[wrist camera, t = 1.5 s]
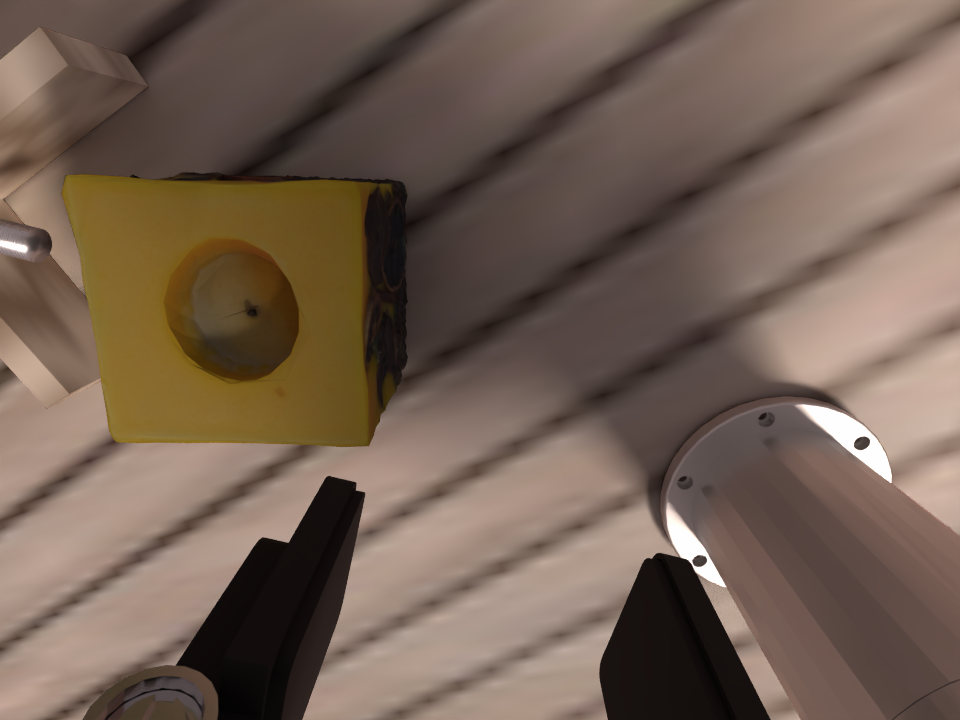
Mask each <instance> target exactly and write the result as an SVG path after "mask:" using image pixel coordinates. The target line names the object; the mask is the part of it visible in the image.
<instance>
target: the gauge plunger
mask: <svg viewBox="0 0 960 720" xmlns="http://www.w3.org/2000/svg"><path fill="white" fill-rule="evenodd" d="M51 248H52V240H51V237H50V235H49V233H48V232H47V231H45V230H44V229H40V228H36V227H32V226H28V225H24V224H20V223H16V222H12V221H8V220H4V219H0V254H2V255H6V256H11V257H15V258H19V259H23V260H27V261H31V262H35V263H38V262H42V261H44V260H45V259H46V258H47V257H48V256H49V254H50V252H51Z"/></svg>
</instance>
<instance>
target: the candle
mask: <svg viewBox="0 0 960 720" xmlns="http://www.w3.org/2000/svg"><path fill="white" fill-rule="evenodd" d="M62 197H63V200H64V203H65V207H66V210H67V213H68V216H69V220H70V223H71V226H72V230H73V233H74V237H75V240H76V243H77V247H78V250H79V253H80V258H81V267H82V276H83V284H84V288H85V292H86V297H87V301H88V305H89V310H90V316H91V321H92V326H93V332H94V337H95V342H96V348H97V355H98V363H99V370H100V377H101V384H102V389H103V395H104V400H105V406H106V412H107V419H108V427H109V432H110V434H111V436H112V438H113V439H114V440H115V441H116V442H127V443H159V442H161V443H266V444H299V445H321V446H336V447H355V446H369V445H370V442H371V440H372V438H373V436H374V432H375V428H376V426H377V425H378V423H379V422H380V415H381V413H383V412H384V411H385V409H386V406H387V403H388V402H389V400H390V398H391V397H392V395H393V394H394V393H395V391H396V389H397V386H398V385H399V383H400V382H401V378H402V373H401V371H402V370H403V369H404V368H405V366H406V363H407V358H408V356H407V354H406V352H405V351H406V344H405V339H406V335H407V331H406V327H405V323H406V319H405V315H406V308H405V305H406V304H407V302H408V301H407V294H406V287H407V286H406V279H405V266H406V256H407V255H406V243H407V240H406V236H405V232H404V225H405V216H406V215H405V203H406V199H407V193H406V189H405V186H404V184H403V183H402V182H400V181H394V180H390V179H385V180H378V179H377V180H376V179H375V180H371V179H349V178H344V179H342V178H341V179H336V178H333V177H332V178H320V177H317V176H316V177H300V176H292V177H291V176H288V175H287V176H286V177H281V176H231V175H223V174H220V173H218V172H216V173H206V174H199V173H180V174H178V175H176V176H174V177H169V178H163V179H156V180H149V179H141V178H139V177H137V176H135V175H132V176H130V177H121V176H105V175H89V174H80V175H66V176H65V180H64V184H63V189H62Z"/></svg>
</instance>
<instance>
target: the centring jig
mask: <svg viewBox="0 0 960 720" xmlns="http://www.w3.org/2000/svg"><path fill="white" fill-rule="evenodd" d="M147 87H148V85H147V84H146V82H145V81H144V79H143V78H142V76H141V75H140V74H139V72H138V71H137V69H136V68H135V67H134V65H133V64H132V62H131V61H130V60H129V58H128V57H127V56H126V55H123V54H120V53H117V52H114V51H111V50H108V49H105V48H102V47H99V46H96V45H93V44H90V43H87V42H84V41H81V40H78V39H75V38H72V37H69V36H66V35H63V34H60V33H57V32H54V31H51V30H48V29H45V28H42V27H38V28H37V29H36V30H35V31H34V32H33V33H31V34H30V35H29V36H28V37H27V38H26V39H24V40H23V41H22V42H21V43H20V44H19V45H17V46H16V47H15V48H14V49H13V50H11V51H10V52H9V53H8V54H7V55H6V56H4V57H3V58H2V59H1V60H0V219H4V220H8V221H12V222H16V223H20V224H23V223H22V221H21V220H20V219H19V218H18V217H17V215H16V214H15V213H14V212H13V211H12V209H11V208H10V207H9V206H8V205H7V203H6V202H5V201H4V200H3V199H4V198H5V197H7V196H8V195H9V194H10V193H12V192H13V191H14V190H16V189H17V188H18V187H19V186H21V185H22V184H23V183H25V182H26V181H27V180H28V179H30V178H31V177H32V176H34V175H35V174H36V173H37V172H39V171H40V170H41V169H43V168H44V167H45V166H46V165H48V164H49V163H50V162H52V161H53V160H54V159H55V158H57V157H58V156H59V155H61V154H62V153H63V152H64V151H66V150H67V149H68V148H70V147H71V146H72V145H73V144H75V143H76V142H77V141H79V140H80V139H81V138H82V137H84V136H85V135H86V134H88V133H89V132H90V131H91V130H93V129H94V128H95V127H97V126H98V125H99V124H100V123H102V122H103V121H104V120H106V119H107V118H108V117H109V116H111V115H112V114H113V113H115V112H116V111H117V110H118V109H120V108H121V107H122V106H124V105H125V104H126V103H127V102H129V101H130V100H131V99H133V98H134V97H135V96H136V95H138V94H139V93H140V92H142V91H143V90H144V89H145V88H147ZM0 358H1V359H2V360H3V361H4V363H5V364H6V365H7V366H8V367H9V368H10V369H11V370H12V371H13V372H14V373H15V375H16V376H17V377H18V378H19V379H20V380H21V381H22V382H23V383H24V384H25V385H26V387H27V388H28V389H29V390H30V391H31V392H32V393H33V394H34V395H35V396H36V397H37V399H38V400H39V401H40V402H41V403H42V404H43V405H44V406H45V407H46V408H49V407H51V406H53V405H55V404H57V403H59V402H61V401H63V400H65V399H67V398H69V397H71V396H73V395H75V394H76V393H78V392H80V391H82V390H84V389H86V388H88V387H90V386H92V385H94V384H96V383H98V382H100V381H101V377H100V370H99V363H98V355H97V348H96V342H95V337H94V332H93V326H92V321H91V316H90V310H89V305H88V301H87V299H86V298H85V297H84V295H83V294H82V293H81V292H80V291H79V289H78V288H77V287H76V286H75V285H74V284H73V282H72V281H71V280H70V279H69V278H68V276H67V275H66V274H65V273H64V272H63V270H62V269H61V268H60V267H59V266H58V264H57V263H56V262H55V261H54V260H53V258H52V257H51V256H50V255H49V256H48V257H47V258H46V259H45V260H44V261H42V262H38V263H35V262H31V261H27V260H23V259H19V258H15V257H11V256H6V255H2V254H0Z"/></svg>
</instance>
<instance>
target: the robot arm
mask: <svg viewBox="0 0 960 720" xmlns="http://www.w3.org/2000/svg"><path fill="white" fill-rule="evenodd" d="M364 498H365V492H360V491H356V482H352V481H348V480H344V479H339V478H335V477H331V476H327V477H326V479H325V480H324V482H323V484H322V485H321V487H320V489H319V491H318V492H317V494H316V496H315V498H314V499H313V501H312V503H311V505H310V506H309V508H308V510H307V512H306V513H305V515H304V517H303V519H302V520H301V522H300V524H299V526H298V527H297V529H296V531H295V533H294V534H293V536H292V538H291V540H290V541H289V543H286V542H282V541H277V540H273V539H269V538H264V537H263V538H261V539H260V540H259V541H258V542H257V543H256V545H255V546H254V547H253V549H252V550H251V552H250V553H249V555H248V556H247V558H246V559H245V561H244V563H243V564H242V566H241V567H240V569H239V570H238V572H237V573H236V575H235V576H234V578H233V579H232V581H231V582H230V584H229V585H228V587H227V588H226V590H225V591H224V593H223V594H222V596H221V597H220V599H219V600H218V602H217V603H216V605H215V607H214V608H213V610H212V611H211V613H210V614H209V616H208V617H207V619H206V620H205V622H204V623H203V625H202V626H201V628H200V629H199V631H198V632H197V634H196V635H195V637H194V638H193V640H192V641H191V643H190V644H189V646H188V647H187V649H186V651H185V652H184V654H183V655H182V657H181V658H180V660H179V661H178V663H177V664H176V666H172V665H164V666H159V667H153V668H148V669H144V670H142V671H139V672H137V673H134V674H132V675H130V676H127V677H125V678H123V679H122V680H120V681H119V682H117V683H116V684H114V685H113V686H111V687H110V688H109V689H107V690H106V691H105V692H104V693H103V694H102V695H101V696H100V697H99V698H98V699H97V700H96V701H95V702H94V703H93V704H92V705H91V706H90V707H89V709H88V711H87V713H86V714H85V716H84V718H83V720H302V719H303V716H304V713H305V710H306V708H307V705H308V702H309V699H310V696H311V694H312V691H313V688H314V685H315V682H316V680H317V677H318V674H319V671H320V669H321V666H322V663H323V660H324V657H325V655H326V652H327V649H328V646H329V643H330V641H331V638H332V635H333V632H334V630H335V627H336V624H337V621H338V618H339V615H340V611H341V607H342V603H343V599H344V594H345V589H346V585H347V580H348V575H349V570H350V565H351V561H352V556H353V551H354V546H355V542H356V537H357V532H358V527H359V522H360V518H361V513H362V508H363V503H364ZM660 512H661V517H662V522H663V527H664V529H665V531H666V534H667V536H668V538H669V541H670V543H671V545H672V546H673V548H674V550H675V551H676V553H677V554H678V556H679V557H675V556H671V555H667V554H662V553H657V554H656V555H655V556H654V557H653V558H652V559H650V558H647V559H645V560H644V562H643V564H642V566H641V568H640V571H639V573H638V575H637V578H636V580H635V582H634V585H633V587H632V589H631V591H630V594H629V596H628V598H627V601H626V603H625V605H624V608H623V610H622V612H621V615H620V617H619V619H618V622H617V624H616V626H615V629H614V631H613V633H612V636H611V638H610V640H609V643H608V645H607V647H606V650H605V652H604V654H603V657H602V659H601V663H600V671H599V675H600V683H601V688H602V693H603V698H604V703H605V708H606V712H607V717H608V720H770V718H769V716H768V714H767V712H766V710H765V708H764V706H763V704H762V702H761V700H760V698H759V696H758V694H757V692H756V690H755V688H754V686H753V684H752V682H751V680H750V678H749V676H748V674H747V672H746V670H745V668H744V667H743V665H742V663H741V661H740V659H739V657H738V655H737V653H736V651H735V649H734V647H733V645H732V643H731V641H730V639H729V637H728V635H727V633H726V631H725V629H724V627H723V625H722V623H721V621H720V619H719V617H718V615H717V613H716V611H715V609H714V607H713V605H712V603H711V601H710V599H709V598H708V596H707V594H706V592H705V590H704V588H703V586H702V584H701V582H700V580H699V578H698V576H697V574H698V575H699V576H701V577H702V578H704V579H705V580H707V581H710V582H712V583H714V584H717V585H719V586H721V587H724V588H727V589H728V591H729V593H730V595H731V596H732V598H733V600H734V602H735V603H736V605H737V607H738V609H739V611H740V612H741V614H742V616H743V618H744V619H745V621H746V623H747V625H748V626H749V628H750V630H751V632H752V634H753V635H754V637H755V639H756V641H757V642H758V644H759V646H760V648H761V650H762V651H763V653H764V655H765V657H766V658H767V660H768V662H769V664H770V665H771V667H772V669H773V671H774V673H775V674H776V676H777V678H778V680H779V681H780V683H781V685H782V687H783V689H784V690H785V692H786V694H787V696H788V697H789V699H790V701H791V703H792V704H793V706H794V708H795V710H796V712H797V713H798V715H799V717H800V719H801V720H960V536H959V535H958V534H957V533H956V532H954V531H953V530H952V529H951V528H950V527H948V526H946V525H945V524H944V523H943V522H941V521H940V520H939V519H937V518H936V517H935V516H933V515H932V514H931V513H930V512H928V511H927V510H926V509H924V508H923V507H922V506H920V505H919V504H918V503H917V502H915V501H914V500H913V499H911V498H910V497H909V496H907V495H906V494H905V493H904V492H902V491H901V490H900V489H898V488H897V487H896V486H894V485H893V484H892V471H891V467H890V463H889V460H888V457H887V453H886V451H885V450H884V448H883V446H882V445H881V443H880V441H879V440H878V438H877V436H876V435H875V434H874V433H873V432H872V431H870V430H869V429H868V428H867V427H866V426H865V425H864V424H863V423H862V422H861V421H859V420H858V419H856V418H855V417H853V416H852V415H850V414H849V413H847V412H846V411H844V410H842V409H840V408H838V407H836V406H834V405H831V404H829V403H827V402H823V401H819V400H815V399H811V398H807V397H791V396H782V397H773V398H763V399H759V400H756V401H752V402H749V403H745V404H741V405H739V406H737V407H735V408H732V409H730V410H728V411H726V412H724V413H722V414H719V415H718V416H717V417H715V418H714V419H712V420H711V421H709V422H708V423H706V424H705V425H703V426H702V427H701V428H699V429H698V430H697V431H696V432H695V433H694V434H693V435H692V436H691V437H690V438H689V439H688V440H687V441H686V442H685V443H684V445H683V446H682V447H681V449H680V450H679V451H678V453H677V454H676V455H675V457H674V458H673V460H672V462H671V464H670V466H669V468H668V471H667V473H666V475H665V478H664V482H663V486H662V490H661V500H660Z"/></svg>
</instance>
